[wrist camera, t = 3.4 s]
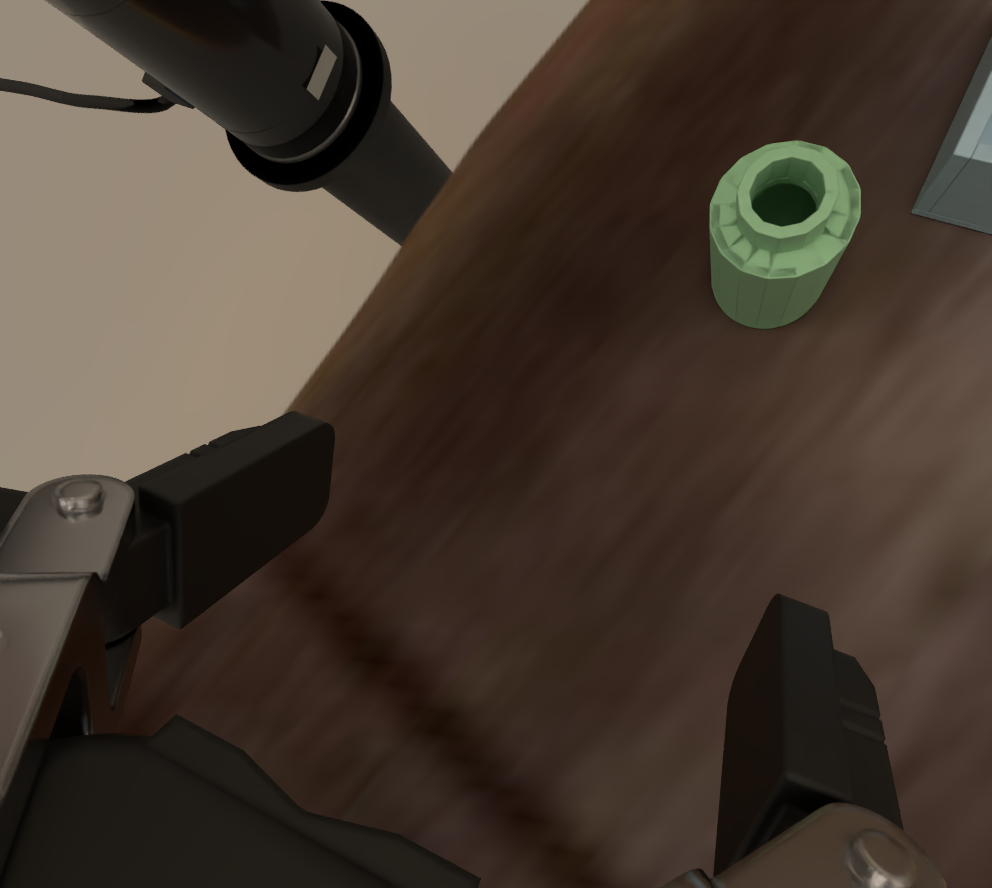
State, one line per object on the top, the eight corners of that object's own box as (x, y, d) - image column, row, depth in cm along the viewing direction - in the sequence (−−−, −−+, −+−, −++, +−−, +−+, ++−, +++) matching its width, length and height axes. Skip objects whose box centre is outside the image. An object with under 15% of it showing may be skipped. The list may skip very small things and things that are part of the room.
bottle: (695, 309, 31) (685, 239, 22) (737, 213, 31) (745, 103, 22) (797, 343, 30) (831, 284, 21) (842, 243, 29) (897, 138, 20)
